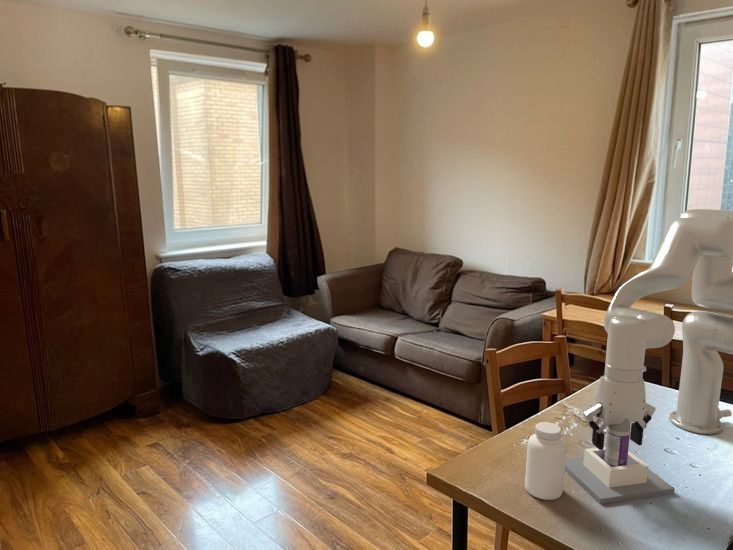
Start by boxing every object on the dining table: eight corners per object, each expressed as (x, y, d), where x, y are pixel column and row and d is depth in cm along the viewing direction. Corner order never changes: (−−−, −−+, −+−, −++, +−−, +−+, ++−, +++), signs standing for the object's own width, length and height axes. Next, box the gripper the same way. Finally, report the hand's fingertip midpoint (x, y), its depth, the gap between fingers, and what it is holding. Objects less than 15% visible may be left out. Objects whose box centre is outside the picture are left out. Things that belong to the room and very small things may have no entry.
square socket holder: (625, 456, 133) (627, 436, 132) (674, 493, 118) (676, 471, 117) (558, 464, 130) (560, 444, 129) (600, 504, 115) (601, 481, 114)
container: (621, 466, 126) (627, 406, 123) (629, 478, 121) (635, 416, 118) (600, 466, 126) (605, 405, 123) (607, 477, 122) (612, 415, 119)
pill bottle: (558, 505, 114) (563, 439, 111) (520, 493, 118) (523, 429, 115) (566, 487, 121) (571, 424, 118) (530, 476, 125) (534, 415, 122)
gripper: (646, 363, 124) (639, 433, 128) (577, 369, 121) (572, 440, 124) (670, 375, 117) (662, 448, 121) (598, 382, 114) (592, 457, 117)
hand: (616, 444), depth 122 cm, fingers open, 9 cm apart
